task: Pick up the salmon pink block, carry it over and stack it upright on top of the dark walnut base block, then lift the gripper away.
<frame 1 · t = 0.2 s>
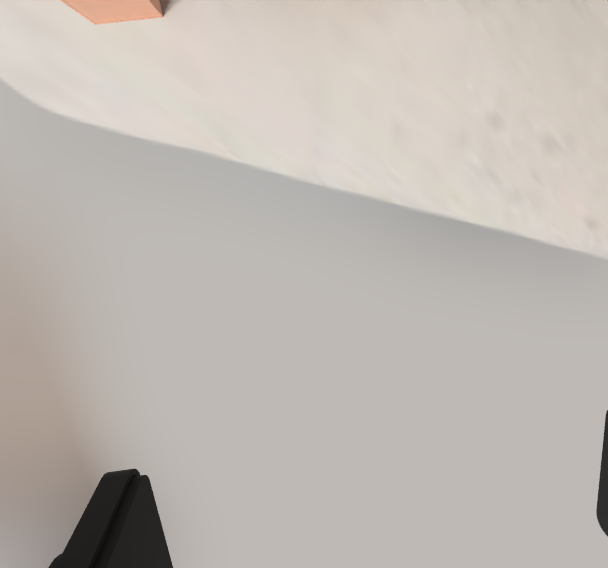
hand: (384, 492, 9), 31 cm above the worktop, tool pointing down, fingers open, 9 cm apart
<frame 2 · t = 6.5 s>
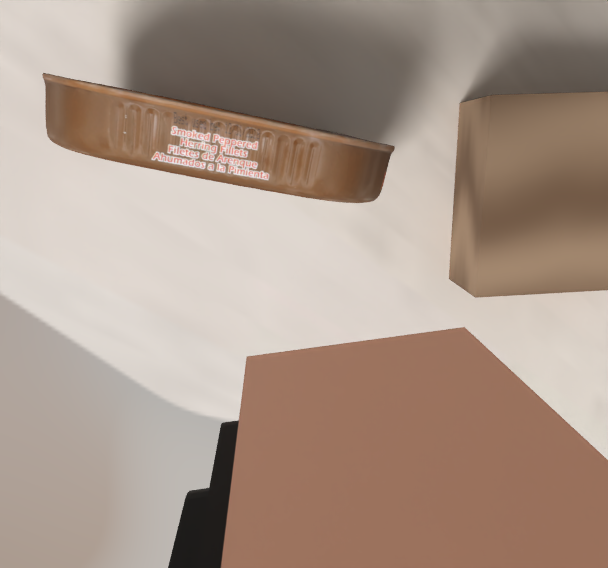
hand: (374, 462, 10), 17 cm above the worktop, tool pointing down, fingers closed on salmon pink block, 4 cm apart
walnut base: (534, 191, 26), on the worktop
tin: (234, 143, 24), on the worktop
salmon pink block: (364, 435, 11), point 16 cm above the worktop, touching gripper
when the fingers open (6 cm above the worktop, at t = 9.7 s): salmon pink block drops 1 cm, point 4 cm above the worktop.
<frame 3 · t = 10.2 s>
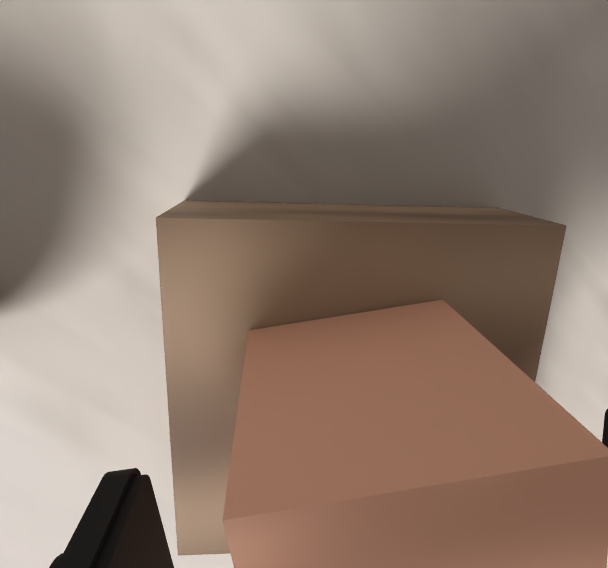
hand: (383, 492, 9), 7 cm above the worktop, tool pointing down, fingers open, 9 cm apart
walnut base: (334, 343, 16), on the worktop
salmon pink block: (356, 400, 12), point 4 cm above the worktop
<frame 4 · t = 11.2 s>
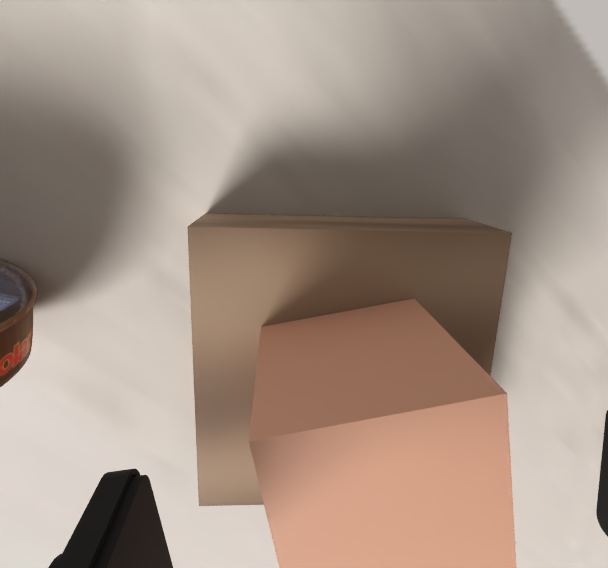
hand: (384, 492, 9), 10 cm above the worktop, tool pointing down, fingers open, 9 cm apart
walnut base: (330, 334, 19), on the worktop
salmon pink block: (349, 381, 15), point 4 cm above the worktop
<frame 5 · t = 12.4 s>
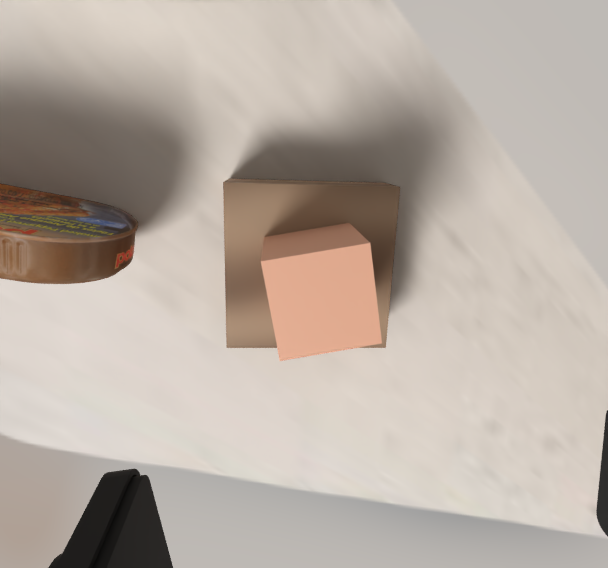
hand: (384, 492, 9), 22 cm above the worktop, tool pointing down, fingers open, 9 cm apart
walnut base: (305, 255, 30), on the worktop, touching salmon pink block
tin: (32, 213, 28), on the worktop
salmon pink block: (313, 270, 26), point 4 cm above the worktop, touching walnut base
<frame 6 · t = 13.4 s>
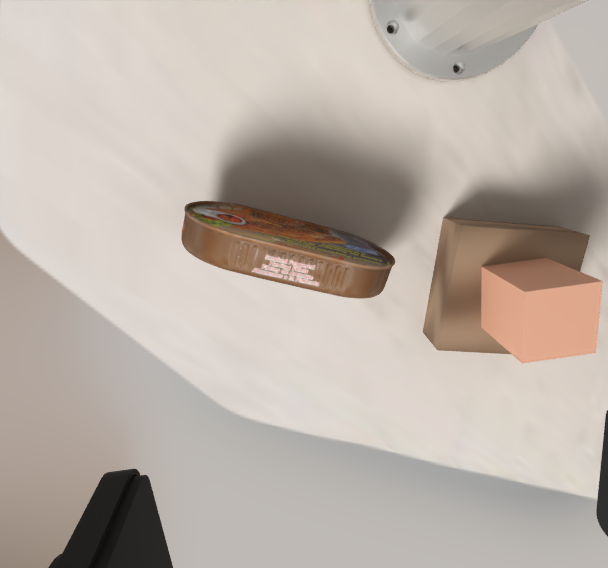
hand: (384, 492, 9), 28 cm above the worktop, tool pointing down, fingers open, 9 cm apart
walnut base: (487, 279, 38), on the worktop, touching salmon pink block
tin: (287, 236, 36), on the worktop
salmon pink block: (513, 293, 34), point 4 cm above the worktop, touching walnut base
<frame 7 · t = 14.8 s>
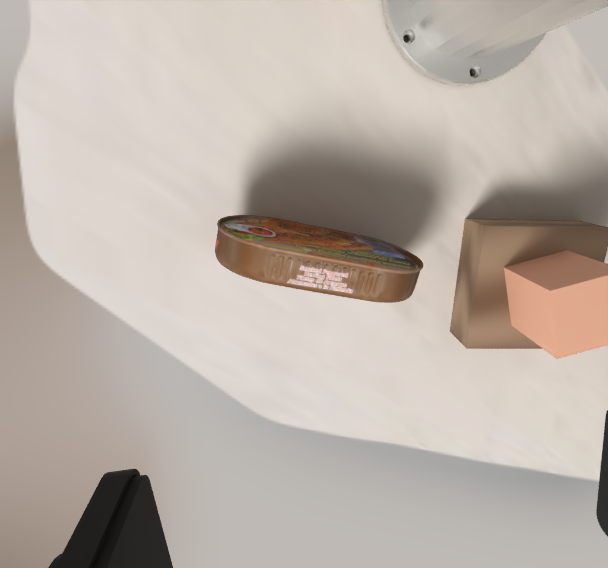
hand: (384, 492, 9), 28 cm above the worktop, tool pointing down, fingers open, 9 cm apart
walnut base: (511, 276, 39), on the worktop, touching salmon pink block
tin: (313, 244, 37), on the worktop
salmon pink block: (538, 288, 35), point 4 cm above the worktop, touching walnut base
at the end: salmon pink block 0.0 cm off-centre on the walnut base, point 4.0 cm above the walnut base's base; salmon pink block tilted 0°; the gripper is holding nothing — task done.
